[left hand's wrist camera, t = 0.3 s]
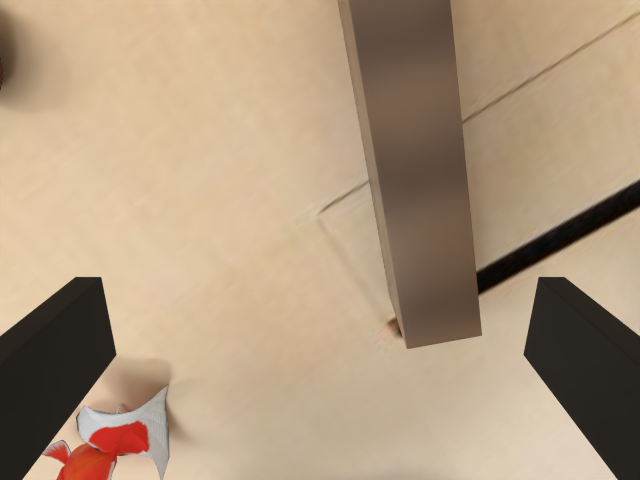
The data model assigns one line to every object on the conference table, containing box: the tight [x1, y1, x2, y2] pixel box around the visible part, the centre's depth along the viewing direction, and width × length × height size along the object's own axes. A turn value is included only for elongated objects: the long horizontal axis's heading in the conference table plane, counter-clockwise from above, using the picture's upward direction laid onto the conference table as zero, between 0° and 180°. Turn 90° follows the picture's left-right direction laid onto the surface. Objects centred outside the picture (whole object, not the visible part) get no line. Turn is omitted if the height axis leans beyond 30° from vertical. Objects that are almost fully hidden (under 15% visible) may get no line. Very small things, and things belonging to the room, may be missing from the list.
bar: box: [338, 0, 482, 349], centre depth 33 cm, size 28×6×9 cm, turn 12°
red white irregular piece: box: [42, 384, 169, 480], centre depth 43 cm, size 11×16×10 cm
